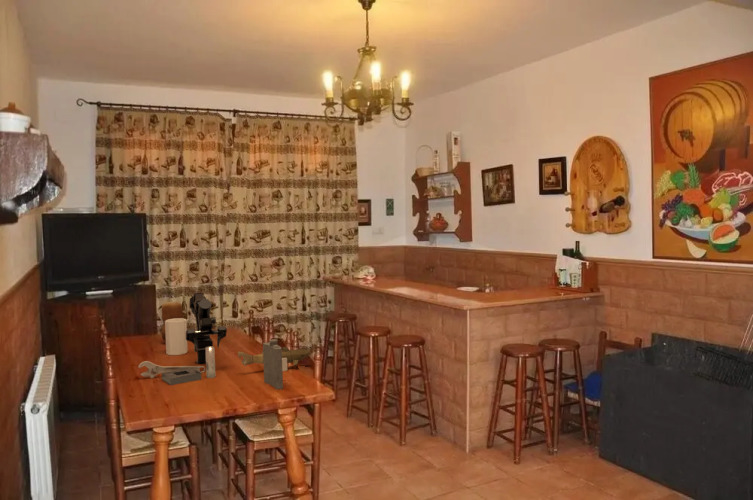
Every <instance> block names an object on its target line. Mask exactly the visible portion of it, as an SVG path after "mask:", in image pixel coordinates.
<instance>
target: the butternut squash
mask: <svg viewBox="0 0 753 500" xmlns="http://www.w3.org/2000/svg"><path fill="white" fill-rule="evenodd" d="M183 316H184V313H183V307H182V304H181V303H180V302H179V301H165V302H163V304H162V305H161V320H162V322H163V325H162V327H161V337H162V340H163V341H165V342H166V334H165V321H166V320H168V319H175V318H183V319H184V317H183Z"/></svg>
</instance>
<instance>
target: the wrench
mask: <svg viewBox="0 0 753 500" xmlns="http://www.w3.org/2000/svg"><path fill="white" fill-rule="evenodd" d="M143 367H146V368H147V370H146V371H144V372H142V373H140V376H142V377H144V378H151V379H155V376H157V375H159V374H162V373H166V372H172V371H177V370H183V369H189V368H193V369H195V370H197V371H198V372H200V373H201V374H202V373H204V372H205V373H206V366H203V365H180V366H177V365H176V366H175V365H173V366H171V365H167V366H165V365H164V366H162V365H158V364H156V363H154V362H151V361H149V360H145V361H142V362H140V363H139V364H138V369H140V368H143ZM201 368H202V369H203V370H202V371H201V370H200V369H201Z"/></svg>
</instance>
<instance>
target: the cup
mask: <svg viewBox="0 0 753 500" xmlns="http://www.w3.org/2000/svg"><path fill="white" fill-rule="evenodd" d="M186 330H188V328H187V319H186V318H184V317H183V318H175V319H168V320H166V321H165V334H166V341H165V349H166V351H165V353H166V355H168V356H179V355H180V356H181V355H185V354H187V353H188V341H187V340H186Z"/></svg>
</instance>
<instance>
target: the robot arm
mask: <svg viewBox="0 0 753 500" xmlns="http://www.w3.org/2000/svg"><path fill="white" fill-rule="evenodd" d="M188 304H189V309H190V311H191V313H192V314H193V315H194V318H195V325H196V330H195V328H192V329H191V328H190V329H187V330H186V340H187V342H190V343H192V344H193V351H194V352H195V353H197V355H196V356H197V360H195V361H194V362H195V363H197V364H199V365H203V364H206V350H205V347H208V346H213V344H214V341H213V340H212V338H211V336H213V335H214V336H215V335H216V336H217V338H216V340H217V342H216V347H217V348H219V347H220V342H221V341H222V340H223V339H224V338H226V337H227V331H228V330H227V327H226V326H225V325H222V326H217V329H213V327H214V326H213V325H216V323H217V318H216V316H211V311H212V309H213V308H212V307H214V306H213V305H214V304H212V302H211V301H210V300H209V299H208V298H207V297H205V294H204V292H195V293H193V295H192V296H191V297H190V298H189V303H188Z"/></svg>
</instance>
